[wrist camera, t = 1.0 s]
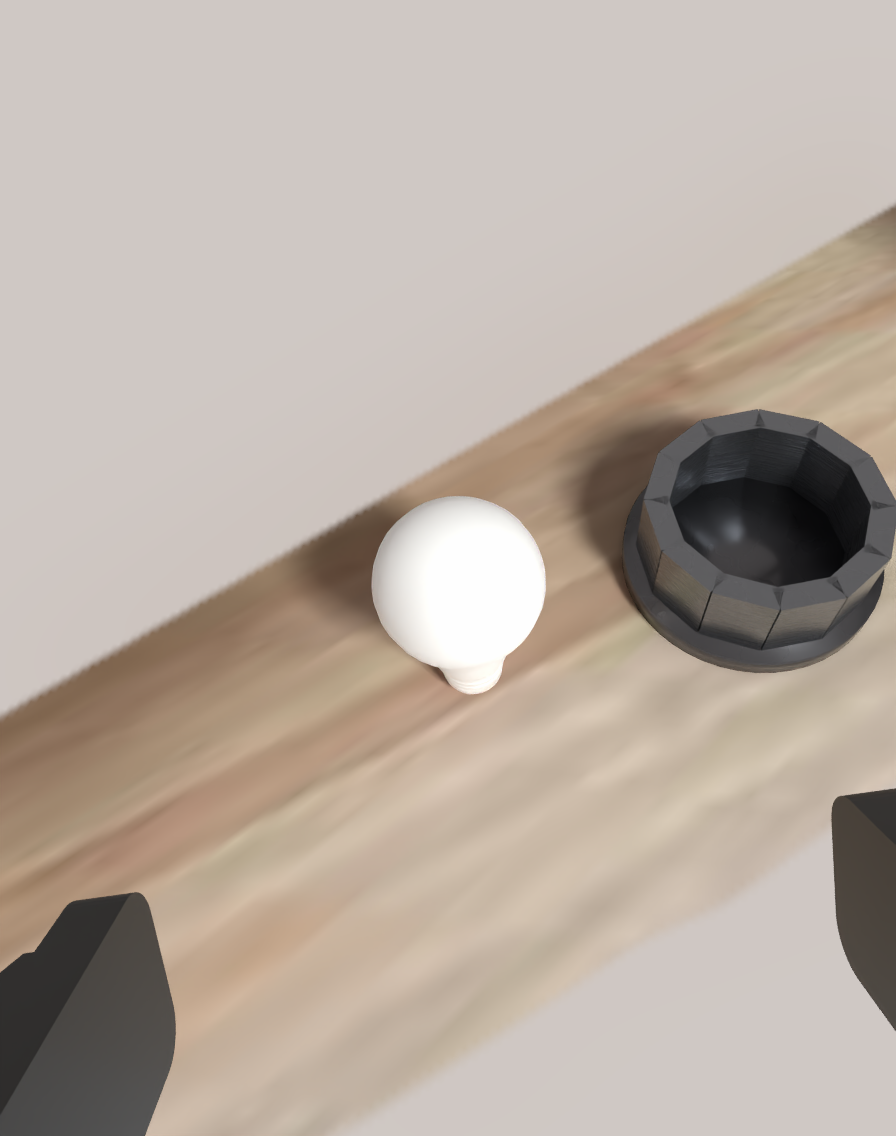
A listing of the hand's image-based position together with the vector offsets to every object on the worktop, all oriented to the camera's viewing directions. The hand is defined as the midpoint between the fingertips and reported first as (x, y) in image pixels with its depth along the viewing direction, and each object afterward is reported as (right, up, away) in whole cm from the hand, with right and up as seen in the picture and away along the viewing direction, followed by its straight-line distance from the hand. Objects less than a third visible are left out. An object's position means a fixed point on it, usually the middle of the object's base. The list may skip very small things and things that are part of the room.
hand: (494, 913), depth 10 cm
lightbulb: (+1, -1, +27) cm, 27 cm away
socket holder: (+13, +4, +28) cm, 31 cm away
